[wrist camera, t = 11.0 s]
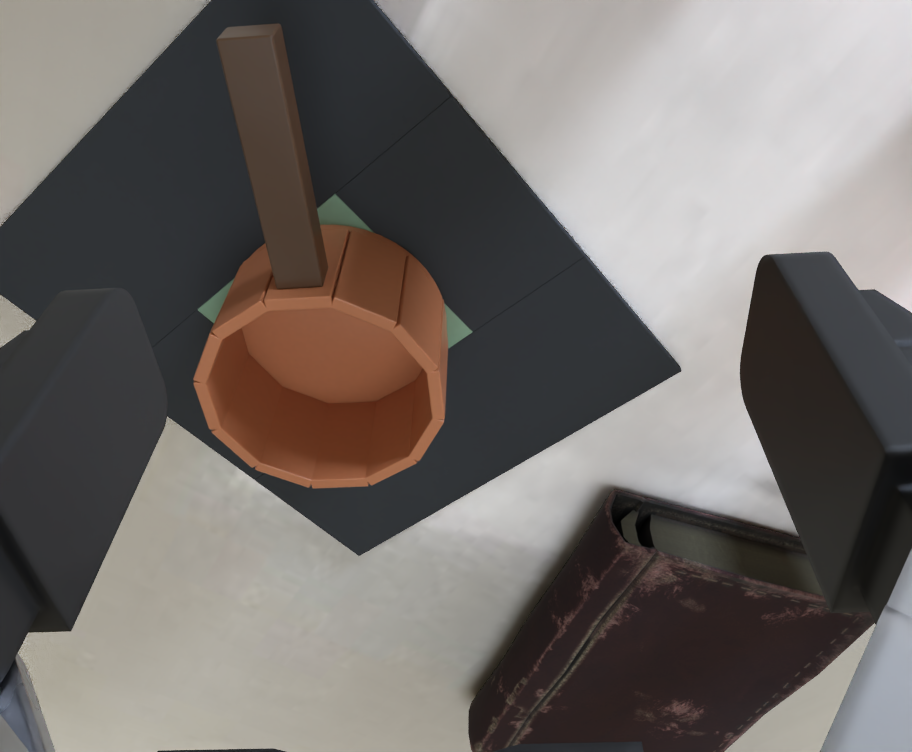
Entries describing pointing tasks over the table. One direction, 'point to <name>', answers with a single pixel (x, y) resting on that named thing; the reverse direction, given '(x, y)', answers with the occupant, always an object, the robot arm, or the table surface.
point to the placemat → (349, 204)
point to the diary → (663, 636)
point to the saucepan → (316, 313)
